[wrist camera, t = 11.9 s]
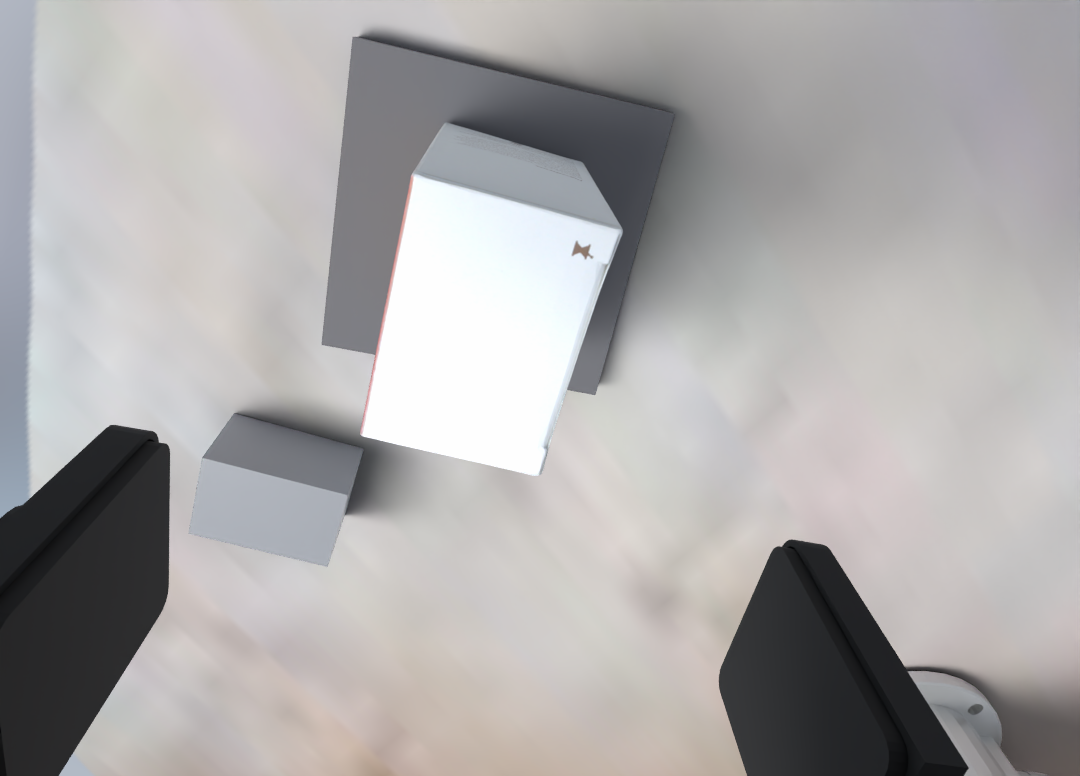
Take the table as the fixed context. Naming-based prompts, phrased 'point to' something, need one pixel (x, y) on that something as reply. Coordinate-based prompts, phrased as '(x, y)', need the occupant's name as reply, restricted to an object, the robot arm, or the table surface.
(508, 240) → the small box
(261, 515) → the light grey rectangular block
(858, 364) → the table surface
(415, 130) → the charcoal mat
